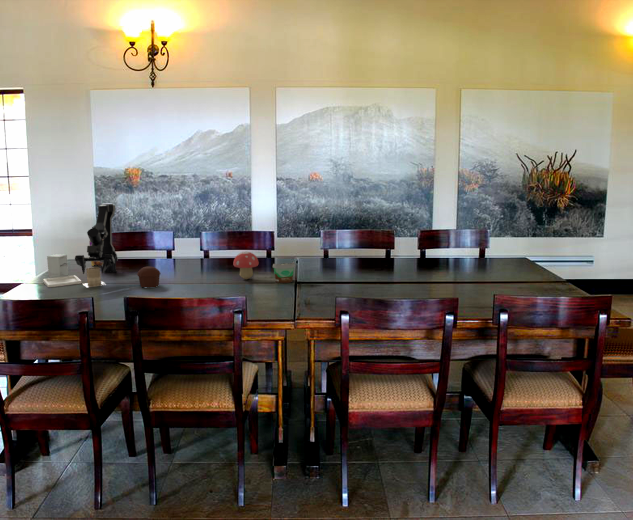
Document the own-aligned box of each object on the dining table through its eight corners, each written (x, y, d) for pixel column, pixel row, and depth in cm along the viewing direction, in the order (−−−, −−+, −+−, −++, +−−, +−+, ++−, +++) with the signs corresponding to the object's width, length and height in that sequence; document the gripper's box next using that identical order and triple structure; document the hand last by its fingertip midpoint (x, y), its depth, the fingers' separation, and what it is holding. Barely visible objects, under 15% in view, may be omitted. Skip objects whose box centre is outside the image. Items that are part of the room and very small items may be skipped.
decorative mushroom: (234, 282, 300) (233, 254, 298) (233, 277, 313) (232, 250, 311) (259, 281, 302) (259, 253, 300) (258, 276, 315) (257, 249, 313)
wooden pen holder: (96, 282, 300) (95, 266, 299) (102, 284, 296) (101, 268, 295) (85, 284, 296) (84, 268, 294) (92, 286, 292) (90, 270, 290)
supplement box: (60, 279, 310) (58, 256, 308) (48, 279, 311) (46, 256, 309) (69, 276, 317) (67, 254, 315) (57, 276, 319) (55, 253, 316)
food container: (277, 284, 295) (277, 265, 293) (272, 282, 301) (272, 263, 299) (299, 282, 301) (298, 263, 299) (294, 279, 306) (293, 261, 304)
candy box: (107, 263, 353) (105, 239, 350) (106, 265, 348) (104, 240, 346) (92, 264, 350) (89, 239, 347) (91, 266, 346) (89, 241, 343)
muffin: (165, 284, 298) (164, 265, 296) (154, 289, 287) (153, 269, 285) (144, 283, 300) (143, 264, 298) (133, 288, 290) (132, 268, 288)
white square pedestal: (102, 282, 303) (101, 271, 302) (106, 285, 295) (106, 275, 294) (82, 284, 297) (81, 274, 296) (86, 288, 289) (85, 277, 288)
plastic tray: (75, 278, 311) (75, 275, 311) (81, 284, 298) (81, 280, 298) (43, 282, 303) (42, 279, 302) (48, 288, 290) (47, 284, 289)
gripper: (74, 239, 295) (69, 264, 286) (111, 238, 297) (108, 263, 288) (79, 252, 304) (75, 277, 295) (116, 251, 306) (112, 275, 297)
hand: (92, 273), depth 293 cm, fingers open, 9 cm apart
